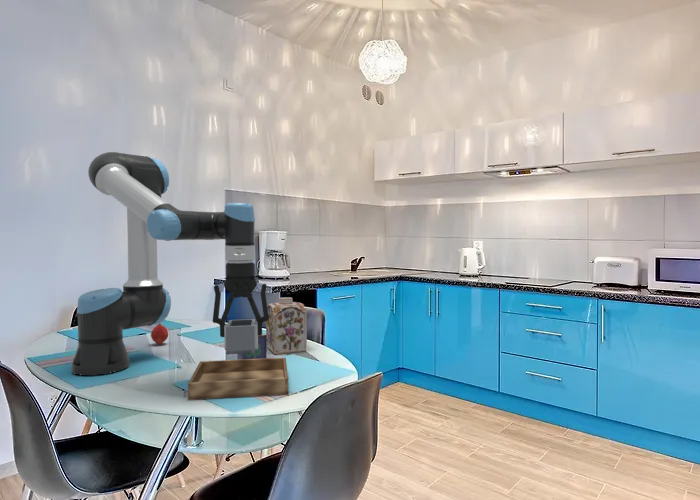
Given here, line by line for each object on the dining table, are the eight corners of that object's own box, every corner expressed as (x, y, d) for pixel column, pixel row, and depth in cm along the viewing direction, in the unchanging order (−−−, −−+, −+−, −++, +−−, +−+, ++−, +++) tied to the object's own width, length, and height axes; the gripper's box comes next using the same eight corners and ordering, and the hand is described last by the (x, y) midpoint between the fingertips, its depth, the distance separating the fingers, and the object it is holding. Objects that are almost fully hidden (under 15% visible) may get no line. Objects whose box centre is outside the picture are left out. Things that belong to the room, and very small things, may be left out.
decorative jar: (273, 355, 154) (273, 301, 153) (265, 347, 165) (265, 296, 164) (308, 351, 159) (307, 298, 158) (297, 344, 169) (297, 294, 169)
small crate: (226, 354, 118) (225, 326, 118) (229, 345, 128) (229, 320, 128) (254, 352, 119) (254, 325, 119) (255, 344, 129) (255, 319, 129)
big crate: (187, 400, 112) (187, 383, 112) (200, 375, 132) (200, 361, 132) (288, 394, 116) (288, 378, 116) (285, 371, 136) (285, 357, 136)
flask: (238, 367, 139) (238, 332, 139) (235, 365, 142) (235, 330, 142) (267, 363, 144) (267, 329, 144) (264, 361, 147) (264, 327, 146)
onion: (147, 345, 167) (147, 323, 167) (159, 342, 173) (159, 320, 172) (160, 347, 165) (159, 324, 165) (171, 343, 170) (171, 321, 170)
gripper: (198, 263, 118) (200, 353, 118) (278, 262, 121) (279, 349, 122) (203, 261, 125) (204, 346, 126) (278, 260, 128) (279, 343, 129)
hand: (241, 348), depth 124 cm, fingers closed on small crate, 7 cm apart
